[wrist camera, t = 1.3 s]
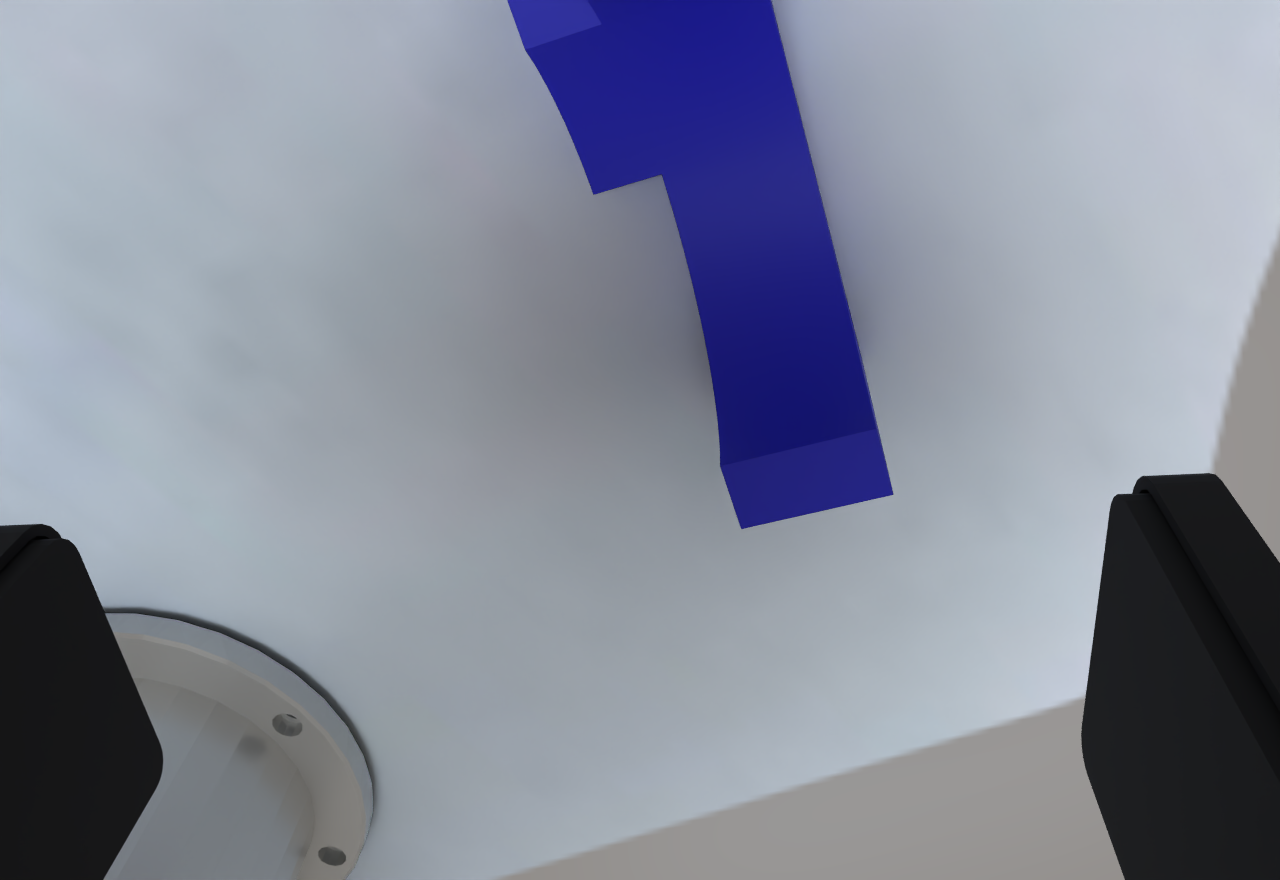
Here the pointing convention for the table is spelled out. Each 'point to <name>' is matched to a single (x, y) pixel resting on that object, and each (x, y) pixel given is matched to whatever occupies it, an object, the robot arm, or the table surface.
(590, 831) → the table surface
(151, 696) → the robot arm
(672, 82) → the cable clip
